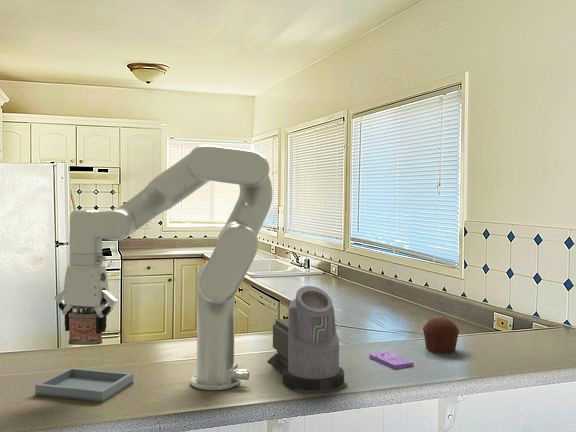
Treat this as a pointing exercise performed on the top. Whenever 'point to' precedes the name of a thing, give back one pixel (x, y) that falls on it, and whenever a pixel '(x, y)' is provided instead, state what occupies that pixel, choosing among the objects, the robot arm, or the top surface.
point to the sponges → (391, 360)
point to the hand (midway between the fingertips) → (85, 330)
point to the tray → (84, 384)
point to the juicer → (308, 345)
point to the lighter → (83, 327)
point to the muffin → (440, 335)
